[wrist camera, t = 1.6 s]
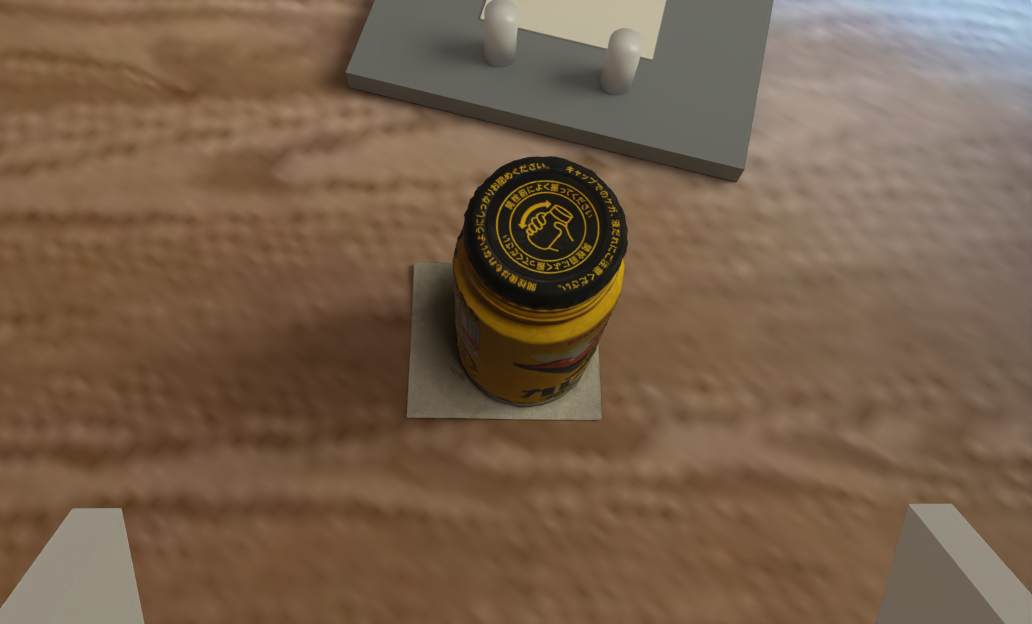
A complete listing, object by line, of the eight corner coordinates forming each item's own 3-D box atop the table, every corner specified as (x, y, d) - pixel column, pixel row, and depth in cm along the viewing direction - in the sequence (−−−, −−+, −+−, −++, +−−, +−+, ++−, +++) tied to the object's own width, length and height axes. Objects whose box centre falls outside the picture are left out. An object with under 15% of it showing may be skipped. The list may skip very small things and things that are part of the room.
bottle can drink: (601, 420, 35) (660, 328, 24) (406, 418, 35) (375, 323, 24) (595, 268, 38) (646, 121, 27) (414, 264, 38) (389, 113, 26)
